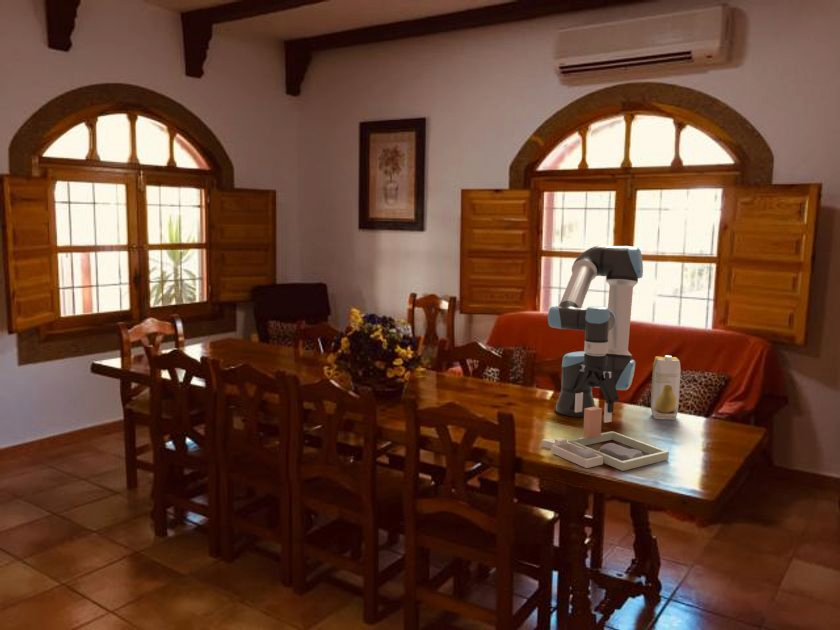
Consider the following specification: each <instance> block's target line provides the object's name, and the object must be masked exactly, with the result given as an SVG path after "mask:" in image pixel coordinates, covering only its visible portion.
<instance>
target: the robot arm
mask: <svg viewBox="0 0 840 630" xmlns="http://www.w3.org/2000/svg"><path fill="white" fill-rule="evenodd" d="M641 251H642V250H640V248H639V247H637V246H629V245H596V246H593V247H590V248H587V249H586V250H585V251H583V252H582V253H581V254H579V256H577V257H576V259H575V260H574V262H573V264H572V266H571V276H570V278H569V281H568V283H567V285H566V288H565V290H564V293H563V295H562V297H561V300H560V302H559V305H558V306H557V305H556V306H551V307H550V308H549V310H548V315H547V323H548V326H549V327H551V328H554V329H559V330H576V331H584V347H583V349H584V350H582V351H580V350H579V351H572V352H567V353H565V354H564V355H563V356H562V362H561V363H562V364H561V388H560V393H559V397H558V399H557V400H558V401H557V402H556V404H555V411H556V413H558V414H560V415H563V416H568V417H575V418H576V417H577V418H578V417H582V418H584V408H590V407H595V406H596V404H595V403H596V402H595V399H594V396H593V388H596V389H597V388H598V389H600V392H602V394H603V397H604V399H605V402H604V410H603V411H604V413H603V423H604V424H605V423H610V422H611V423H612V421H613V420H612V419H613V413H614V408H615V407H614V405H615V404H614V403H618V402H620V397H619V393H618V391H627V390H628V389H629V388H631V386H632V382H633V378H634V375H635V369H636V360H635V359H632V357H633V354H632V353H630V351H629V342H630V341H629V340H630V328H631V327H630V326H631V316H632V307H633V306H632V303H633V291H634V287H635V286H636V285H637V284H639V283H638V282H639V279H642V278H643V276H644V274H643V273H644V266H643V265H644V264H643V262H644V261H643V255H642V252H641ZM597 277H605V282H606V283H607V284H608V285H609V288H608V290H609V291H608V302H607V306H599V305H598V306H597V305H595V306H588V307H586V308H584V307H583V304H584V302H585V299H586V296H587V294H588V292H589V288H590V286H591V283H592V281H593V280H595V278H597ZM582 307H583V308H582ZM617 390H618V391H617Z"/></svg>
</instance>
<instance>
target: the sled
mask: <svg viewBox="0 0 840 630" xmlns="http://www.w3.org/2000/svg"><path fill="white" fill-rule="evenodd" d="M554 440H555V444H554V445H552V448H551V453H552V454H553V455H556V456H558V457H560V458H562V459H565V460H567V461H569V462H571V463H574V464H575V465H576V464H577V466H578V465H579V466H580V467H583V468H585V469H589V468H592V467H593V468H594V467H597V466H601V465H604V463H603V456H601V455H598V454H596V453H595V457H592V458H588V459H586V458H583V457H581V456H579V455H576V453H577V450H580V449H584V448H582V447H579V446H577V445H574V444H572V443H570V442H568V440H567V438H564V437H559V438H555V439H554Z"/></svg>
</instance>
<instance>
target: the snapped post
mask: <svg viewBox="0 0 840 630" xmlns="http://www.w3.org/2000/svg"><path fill="white" fill-rule="evenodd" d="M541 442H542V443H541V446H542V447H543V448H547V449H551V448H552V445H554V444H555V439H551V438H543V439H541Z"/></svg>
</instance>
